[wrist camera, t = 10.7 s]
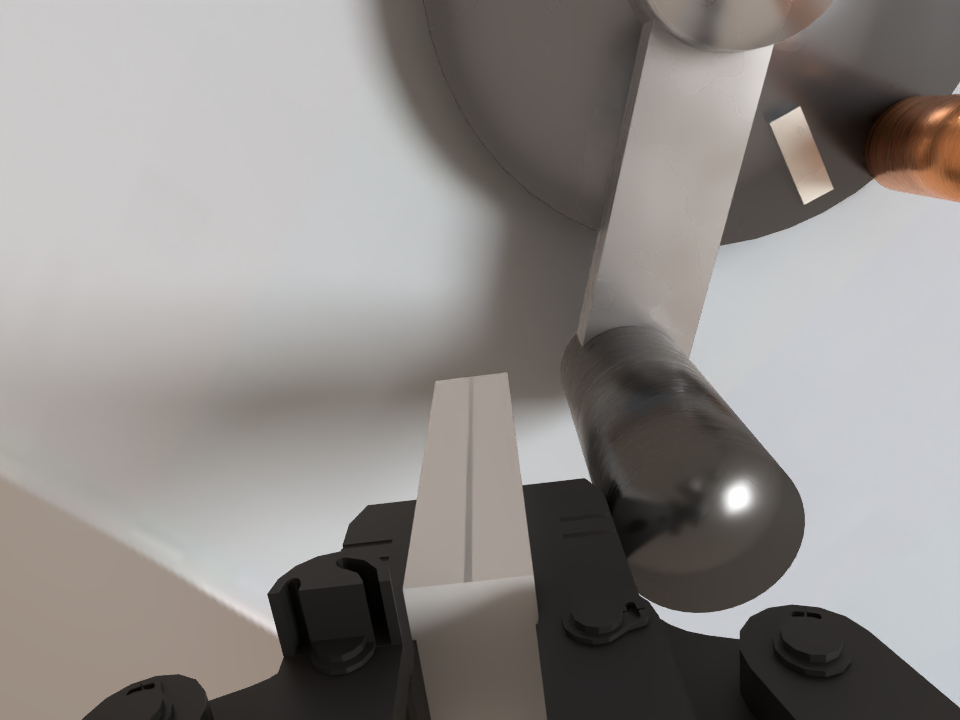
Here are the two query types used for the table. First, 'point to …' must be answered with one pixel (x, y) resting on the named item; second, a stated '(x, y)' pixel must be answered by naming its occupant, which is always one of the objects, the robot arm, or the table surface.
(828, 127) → the crank base
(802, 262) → the table surface
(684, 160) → the crank
